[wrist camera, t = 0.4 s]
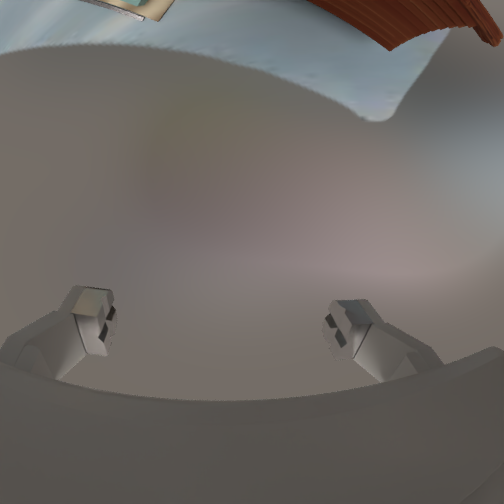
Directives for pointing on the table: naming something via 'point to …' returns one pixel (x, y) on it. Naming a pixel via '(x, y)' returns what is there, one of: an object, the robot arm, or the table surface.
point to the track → (115, 9)
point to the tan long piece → (145, 7)
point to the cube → (136, 2)
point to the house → (412, 18)
